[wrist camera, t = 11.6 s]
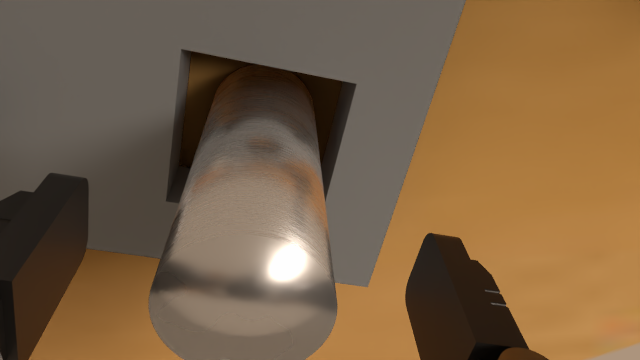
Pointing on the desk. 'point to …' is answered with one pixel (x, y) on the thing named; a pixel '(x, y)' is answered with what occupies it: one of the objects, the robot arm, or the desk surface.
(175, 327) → the steel pin
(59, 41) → the pin board
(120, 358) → the desk surface
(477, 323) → the robot arm
